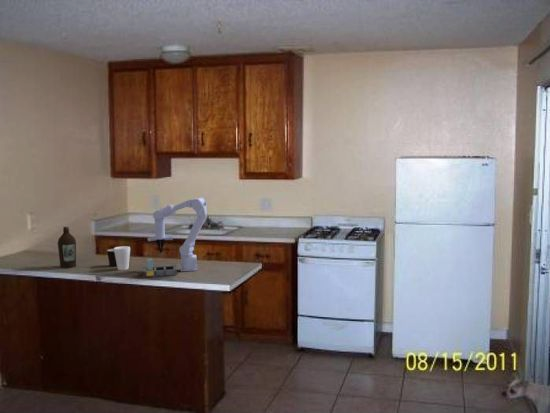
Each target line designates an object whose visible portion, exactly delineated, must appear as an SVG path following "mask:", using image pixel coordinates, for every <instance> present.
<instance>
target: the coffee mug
mask: <svg viewBox="0 0 550 413" xmlns="http://www.w3.org/2000/svg"><path fill="white" fill-rule="evenodd" d="M106 252H107V257H108V258H107V259H108V265H109V267H110V268H115V267H116V268H117V263H116V257H115V252H114V248H110V249H107V250H106Z"/></svg>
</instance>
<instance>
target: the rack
mask: <svg viewBox="0 0 550 413" xmlns="http://www.w3.org/2000/svg"><path fill="white" fill-rule="evenodd" d="M142 268H143V270H142V278H152V277H153V278H154V277H155V278H156V277H171V276H170V275H172V276H178V267H177V265H176V264H175V265H163V266H153V270H151V271H147V266H144V267H142Z"/></svg>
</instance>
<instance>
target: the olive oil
mask: <svg viewBox="0 0 550 413" xmlns="http://www.w3.org/2000/svg"><path fill="white" fill-rule="evenodd" d="M62 230H63V231H62V232H63V233H62V234H61V236H60V237H59V238H58V241H57V249H58V256H59V257H58V258H59V259H58V260H59V267H60V268H61V269H72V268H75V267H77V240H76V238H75V236H74V235H72V234H71V233H70V228H69V226H63V229H62Z"/></svg>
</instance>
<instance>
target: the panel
mask: <svg viewBox="0 0 550 413" xmlns="http://www.w3.org/2000/svg"><path fill="white" fill-rule="evenodd" d="M153 259H154V258H147V259H146V267H147V271H151V270H153V267H154V260H153Z"/></svg>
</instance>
